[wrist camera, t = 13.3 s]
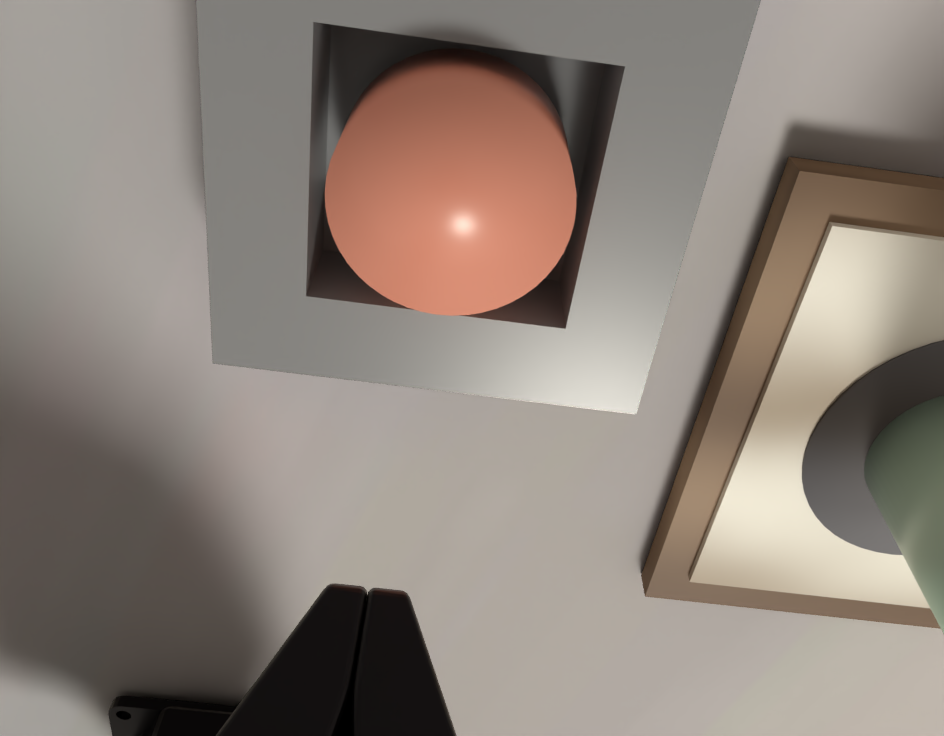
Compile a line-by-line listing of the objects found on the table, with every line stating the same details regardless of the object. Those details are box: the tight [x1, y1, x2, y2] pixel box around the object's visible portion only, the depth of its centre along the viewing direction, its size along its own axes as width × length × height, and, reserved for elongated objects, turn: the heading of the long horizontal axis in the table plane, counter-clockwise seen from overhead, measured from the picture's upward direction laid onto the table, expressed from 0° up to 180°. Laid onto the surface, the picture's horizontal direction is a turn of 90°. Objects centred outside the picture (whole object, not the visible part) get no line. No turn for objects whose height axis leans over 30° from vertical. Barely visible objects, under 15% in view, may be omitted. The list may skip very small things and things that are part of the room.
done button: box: [325, 48, 576, 316], centre depth 16 cm, size 4×4×2 cm
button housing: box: [196, 0, 761, 414], centre depth 17 cm, size 9×9×3 cm
